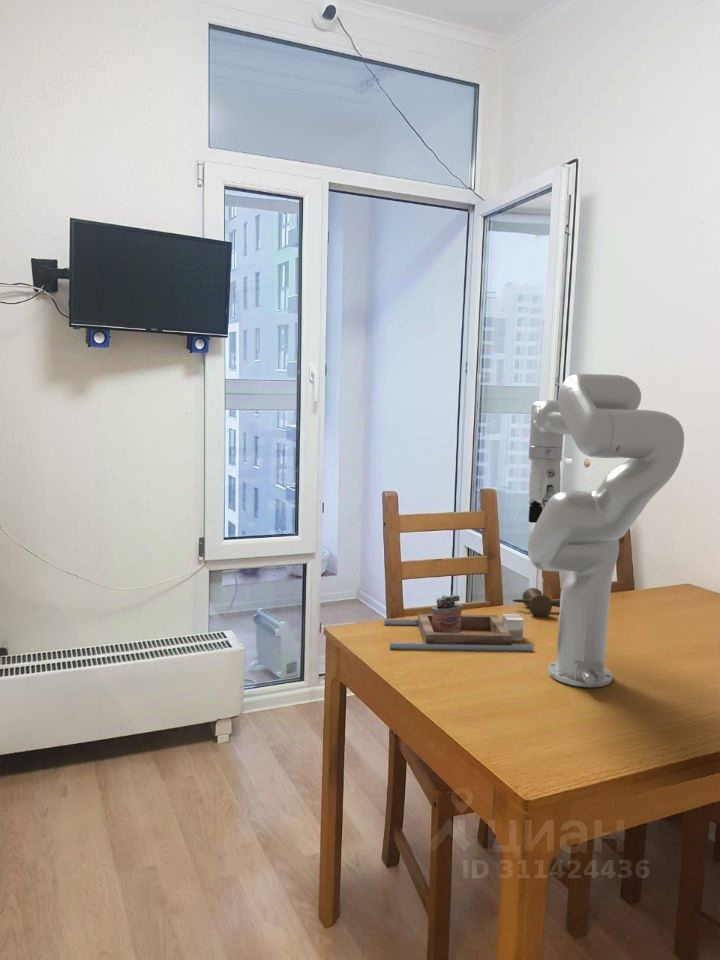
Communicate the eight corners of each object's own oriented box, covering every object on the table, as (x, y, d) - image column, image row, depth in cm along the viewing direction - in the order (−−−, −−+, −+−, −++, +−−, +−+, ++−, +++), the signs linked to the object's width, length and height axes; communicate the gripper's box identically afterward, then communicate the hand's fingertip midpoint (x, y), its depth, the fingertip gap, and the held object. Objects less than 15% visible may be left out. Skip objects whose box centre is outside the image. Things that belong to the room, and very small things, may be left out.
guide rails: (532, 652, 160) (533, 645, 160) (389, 650, 159) (389, 643, 159) (513, 626, 178) (513, 620, 177) (384, 624, 176) (384, 618, 176)
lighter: (435, 642, 165) (437, 599, 164) (427, 637, 168) (429, 596, 167) (463, 637, 169) (465, 596, 168) (455, 632, 172) (457, 592, 171)
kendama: (592, 620, 187) (515, 616, 186) (580, 610, 196) (507, 606, 196) (594, 598, 186) (517, 594, 186) (582, 589, 196) (509, 585, 195)
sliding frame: (528, 649, 161) (530, 627, 161) (425, 647, 160) (426, 625, 160) (512, 627, 176) (513, 607, 176) (417, 625, 175) (418, 605, 175)
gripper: (573, 457, 159) (568, 533, 161) (550, 451, 177) (545, 520, 179) (540, 456, 159) (535, 532, 161) (519, 450, 176) (516, 519, 178)
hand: (540, 526), depth 170 cm, fingers open, 9 cm apart
